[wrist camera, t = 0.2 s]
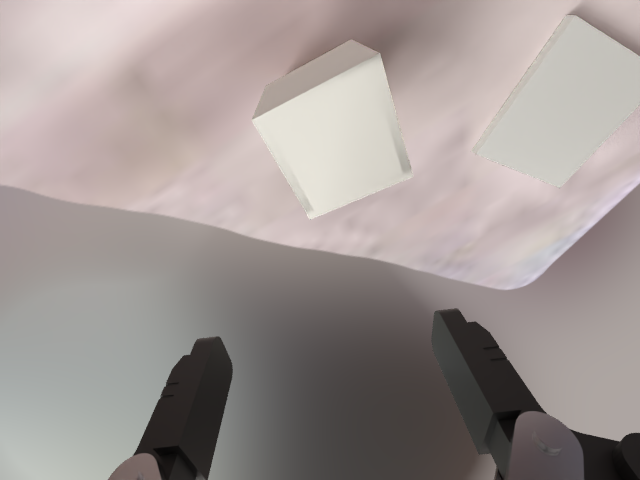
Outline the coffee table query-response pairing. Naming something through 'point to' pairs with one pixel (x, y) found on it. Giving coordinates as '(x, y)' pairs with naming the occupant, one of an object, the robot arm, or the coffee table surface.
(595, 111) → the grey mat
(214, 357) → the robot arm
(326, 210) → the white rectangular block
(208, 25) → the coffee table surface
